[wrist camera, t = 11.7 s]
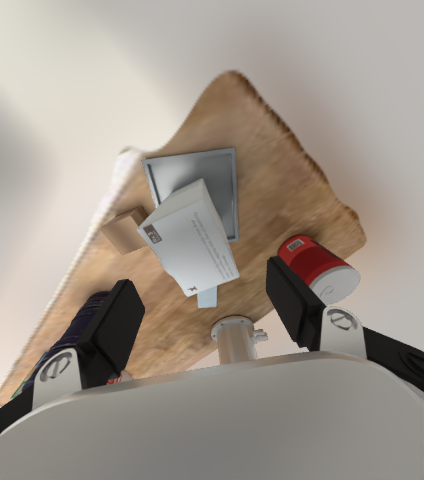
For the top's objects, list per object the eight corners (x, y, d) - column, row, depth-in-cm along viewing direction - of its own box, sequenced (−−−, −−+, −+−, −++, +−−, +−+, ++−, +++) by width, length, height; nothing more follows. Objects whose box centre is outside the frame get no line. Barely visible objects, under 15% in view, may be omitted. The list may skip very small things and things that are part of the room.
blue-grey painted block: (196, 267, 33) (196, 280, 29) (214, 266, 33) (217, 279, 30) (197, 293, 37) (198, 308, 33) (214, 292, 37) (216, 306, 33)
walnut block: (141, 205, 25) (130, 215, 21) (157, 230, 28) (150, 244, 23) (115, 216, 26) (99, 228, 21) (133, 240, 28) (122, 255, 24)
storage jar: (105, 284, 32) (44, 370, 19) (142, 306, 37) (112, 389, 24) (77, 305, 35) (5, 396, 21) (115, 324, 39) (74, 409, 26)
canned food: (271, 263, 34) (301, 305, 24) (286, 231, 30) (328, 265, 21) (300, 266, 35) (340, 307, 26) (318, 236, 32) (372, 271, 22)
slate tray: (232, 148, 22) (235, 147, 21) (236, 236, 30) (238, 241, 28) (144, 159, 22) (141, 160, 21) (170, 246, 29) (169, 251, 28)
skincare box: (221, 220, 27) (246, 279, 14) (191, 234, 28) (188, 302, 15) (201, 174, 23) (208, 196, 10) (166, 191, 24) (131, 233, 11)
